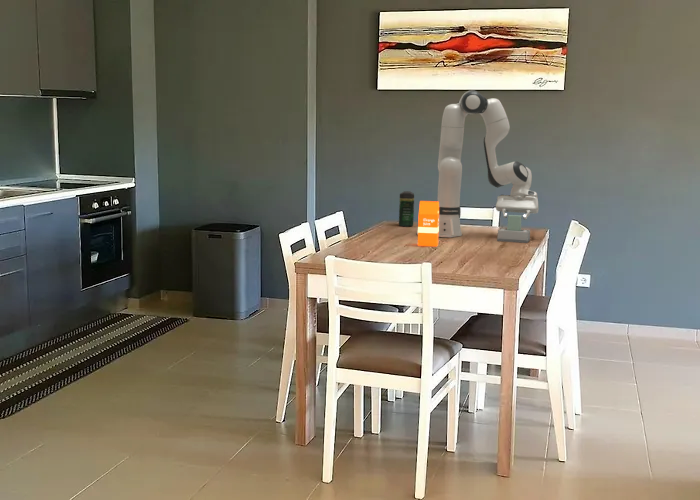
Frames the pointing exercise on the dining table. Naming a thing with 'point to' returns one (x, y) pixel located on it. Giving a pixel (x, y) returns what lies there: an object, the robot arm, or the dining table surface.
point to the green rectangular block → (514, 222)
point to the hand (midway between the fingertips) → (514, 218)
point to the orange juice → (428, 223)
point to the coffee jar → (406, 209)
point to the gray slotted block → (513, 235)
